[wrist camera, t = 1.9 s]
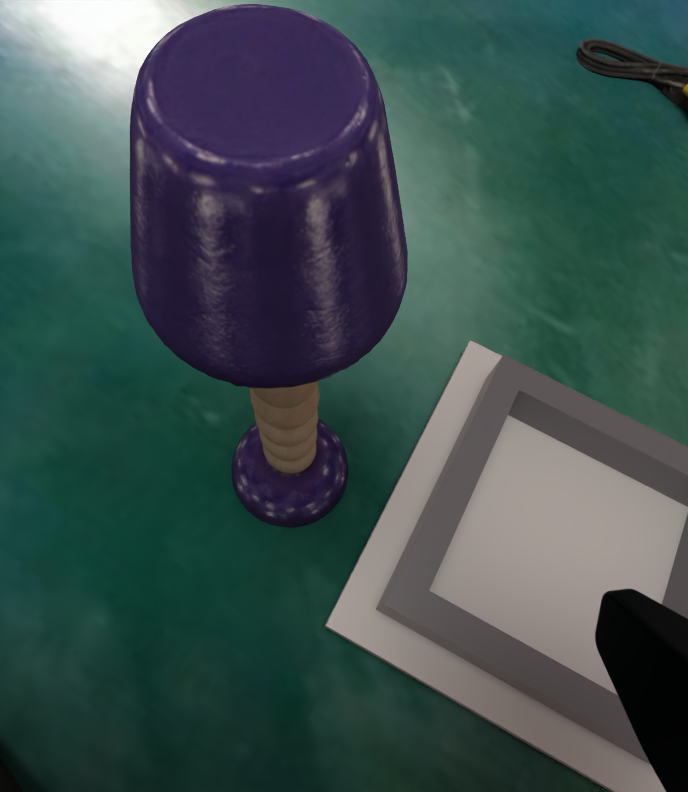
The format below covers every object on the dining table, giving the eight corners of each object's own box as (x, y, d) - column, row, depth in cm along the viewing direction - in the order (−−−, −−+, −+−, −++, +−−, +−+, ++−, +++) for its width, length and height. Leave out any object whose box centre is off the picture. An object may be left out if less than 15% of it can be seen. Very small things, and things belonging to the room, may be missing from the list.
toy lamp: (262, 561, 21) (204, 315, 6) (190, 456, 22) (-16, 22, 7) (370, 482, 22) (555, 118, 7) (296, 387, 24) (321, -97, 8)
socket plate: (740, 491, 24) (800, 470, 21) (658, 819, 19) (721, 847, 16) (463, 351, 25) (485, 314, 22) (323, 626, 20) (329, 622, 18)
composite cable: (564, 66, 33) (585, 22, 31) (604, 24, 35) (627, -20, 32) (727, 162, 31) (761, 123, 29) (760, 112, 33) (796, 72, 31)
